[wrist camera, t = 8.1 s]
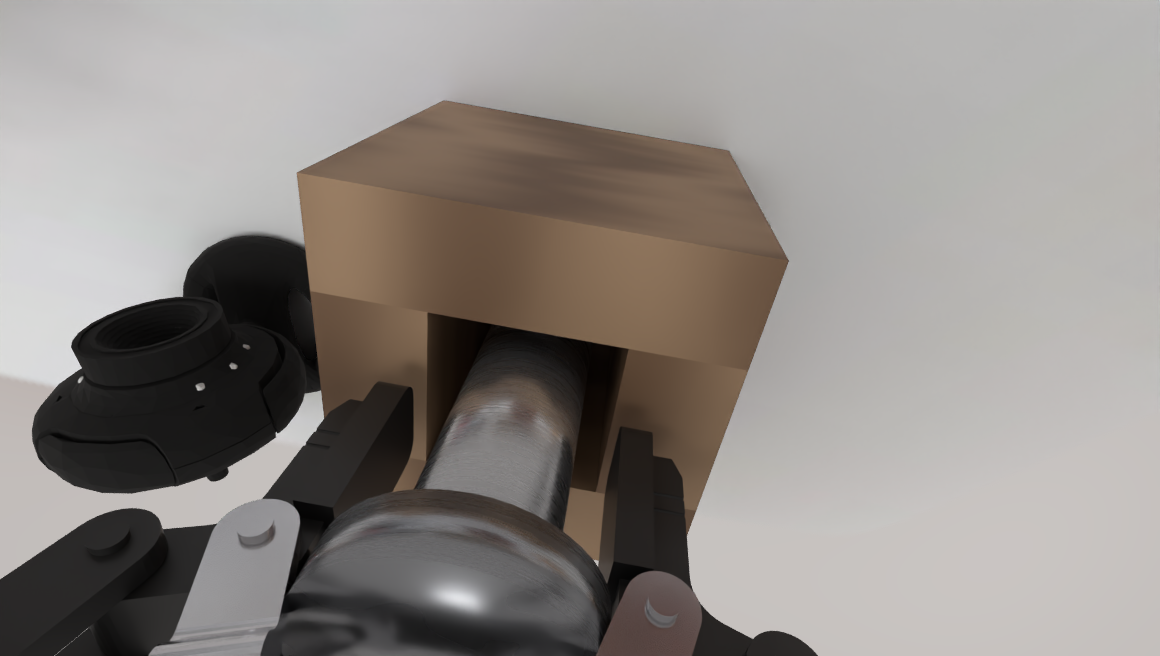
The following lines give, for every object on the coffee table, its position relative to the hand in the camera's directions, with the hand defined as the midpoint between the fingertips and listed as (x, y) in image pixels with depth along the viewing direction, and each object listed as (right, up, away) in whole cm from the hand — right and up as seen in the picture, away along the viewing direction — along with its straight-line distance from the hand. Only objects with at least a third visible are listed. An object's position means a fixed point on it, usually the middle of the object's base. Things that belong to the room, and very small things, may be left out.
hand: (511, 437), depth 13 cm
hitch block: (+1, +5, +9) cm, 11 cm away
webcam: (-11, +3, +12) cm, 17 cm away
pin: (+1, +2, +4) cm, 5 cm away
